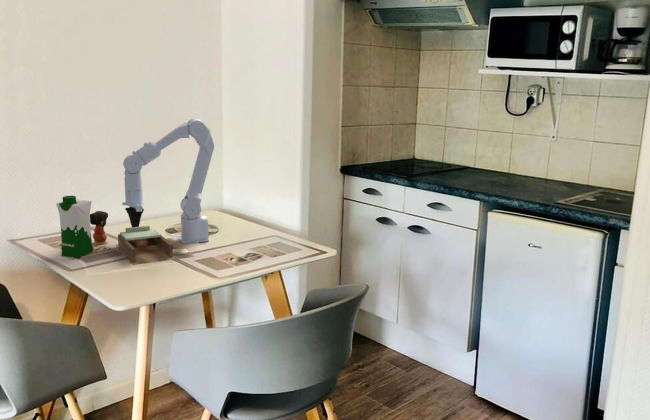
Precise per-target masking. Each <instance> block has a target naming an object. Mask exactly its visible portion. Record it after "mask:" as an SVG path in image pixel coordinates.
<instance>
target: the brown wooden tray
mask: <svg viewBox="0 0 650 420" xmlns="http://www.w3.org/2000/svg"><path fill="white" fill-rule="evenodd" d="M117 241H118V242H117V244H115V247H116V248H118V250H119V251H120V252H121V254H122V255H124V257H125V258H126V259H127V260H128V261H129V262H130V264H131V265H133V266H137V265H142V264H150V263H151V264H152V263H157V262H164V261H166V262H167V261H171V260H172V261H173V260H180V259H187V258H193V257H194V258H195V255H193V254H192V253H191V252H190V251H189V250H188V249H186V248H185V247H183V245H181V244H180V243H178V242H177V241H176V240H174V239H173V238H172V237H171V238H166V237H164V236H163V235H162V234H161V237H155V238H148V246H145V247H137V248H134V241H133V240H129V241H126V240H125V239H124V238H123V237H122V236H121V235H120V233H119V234H117Z"/></svg>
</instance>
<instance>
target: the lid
mask: <svg viewBox="0 0 650 420" xmlns="http://www.w3.org/2000/svg"><path fill="white" fill-rule="evenodd" d="M150 227H151V226H150V225H143V226H139V227H132V226H131V227H125V231H120V233H119V234H120V235H121V236H122V237H123V238H124V239H125V240H126V241H129V240H137V239H146V238H155V237H161V235H162V234H161V233H159V232H158V231H157V230H156V229H154V228H150Z"/></svg>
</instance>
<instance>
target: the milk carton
mask: <svg viewBox="0 0 650 420" xmlns="http://www.w3.org/2000/svg"><path fill="white" fill-rule="evenodd" d="M55 204H56V207H57V211H58V214H59V222H60V223H59V224H60V226H59V227H60V238H61V240H60V241H61V256H62V257H66V258H73V259H82V258H81V257H83V256H86V255H89V254H91V253H94V246H93V241H92V229H91V228H92V227H91V223H90V214H91V208H92V200H86V199H77V196H75V195H65V196H62V201H60V202H56V203H55Z"/></svg>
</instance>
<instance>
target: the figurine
mask: <svg viewBox="0 0 650 420" xmlns="http://www.w3.org/2000/svg"><path fill="white" fill-rule="evenodd" d="M108 218H109V213H108V212H106V211H102V210H97V211H95V212H92V213H90V225H92V226H95V227H94V230H93V232H94V233H93V234H92V238H93V244H94V245H95V246H104V245H107V244H108V242H107V237H108V236H107V235H106V231H105V229H104V228H105V227H106V226H107V219H108Z"/></svg>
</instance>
